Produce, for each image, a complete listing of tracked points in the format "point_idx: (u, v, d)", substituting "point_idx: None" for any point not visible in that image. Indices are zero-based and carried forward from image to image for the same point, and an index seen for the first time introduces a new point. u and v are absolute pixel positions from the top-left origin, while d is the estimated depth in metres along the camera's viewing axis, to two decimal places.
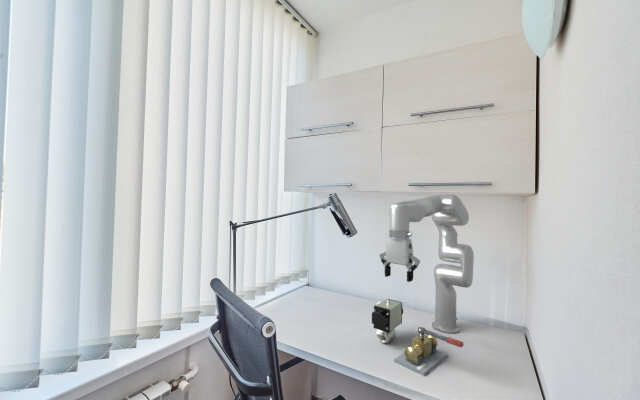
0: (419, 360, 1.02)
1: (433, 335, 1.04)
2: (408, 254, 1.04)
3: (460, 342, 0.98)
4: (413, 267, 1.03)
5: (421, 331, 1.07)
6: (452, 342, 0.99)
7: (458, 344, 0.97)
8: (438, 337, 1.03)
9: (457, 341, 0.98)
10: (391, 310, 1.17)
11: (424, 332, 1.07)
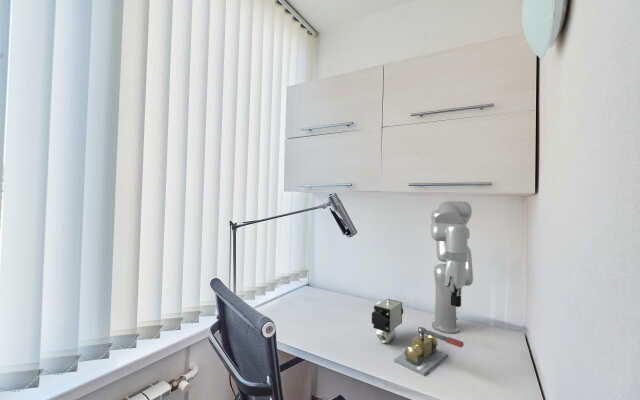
0: (419, 360, 1.02)
1: (433, 335, 1.04)
2: None
3: (460, 342, 0.98)
4: None
5: (421, 331, 1.07)
6: (452, 342, 0.99)
7: (458, 344, 0.97)
8: (438, 337, 1.03)
9: (457, 341, 0.98)
10: (391, 310, 1.17)
11: (424, 332, 1.07)
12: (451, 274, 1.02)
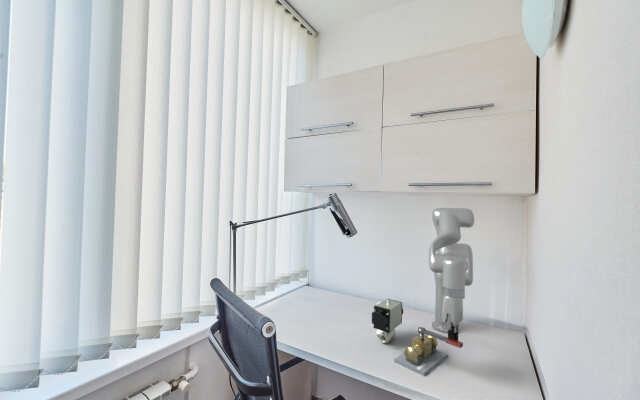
0: (419, 360, 1.02)
1: (433, 335, 1.04)
2: None
3: (459, 342, 0.97)
4: None
5: (421, 331, 1.07)
6: (451, 343, 0.99)
7: (457, 344, 0.97)
8: (438, 337, 1.02)
9: (456, 341, 0.98)
10: (391, 310, 1.17)
11: (424, 332, 1.07)
12: (448, 311, 0.99)
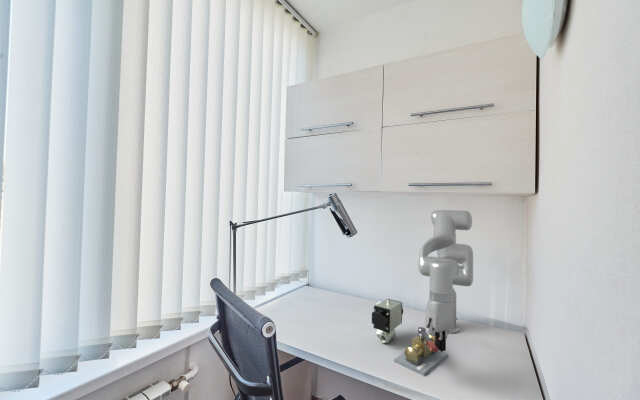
0: (419, 360, 1.02)
1: (423, 336, 1.03)
2: None
3: (433, 346, 0.94)
4: None
5: (418, 330, 1.08)
6: (428, 345, 0.96)
7: (430, 347, 0.94)
8: (424, 338, 1.01)
9: (432, 345, 0.95)
10: (391, 310, 1.17)
11: (420, 332, 1.07)
12: (430, 315, 0.95)
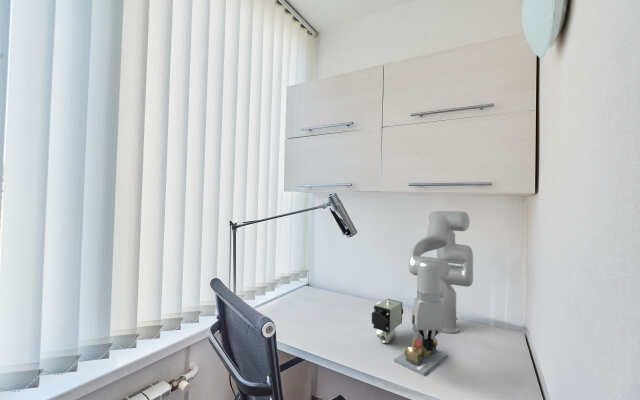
0: (419, 360, 1.02)
1: None
2: None
3: (417, 344, 0.95)
4: (435, 334, 0.96)
5: None
6: None
7: (414, 344, 0.96)
8: (417, 337, 1.03)
9: (417, 343, 0.96)
10: (391, 310, 1.17)
11: None
12: (414, 312, 0.97)
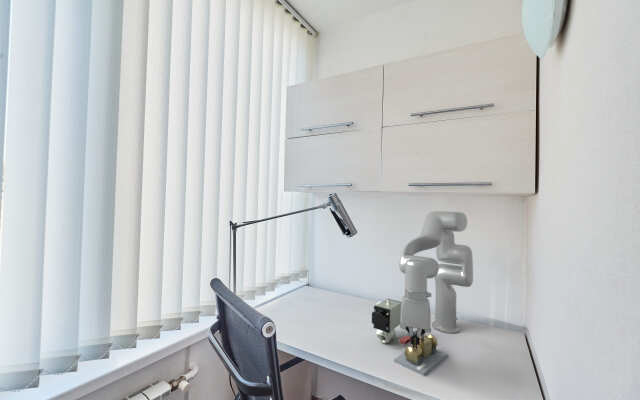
0: (419, 360, 1.02)
1: None
2: (430, 317, 0.96)
3: (402, 339, 0.99)
4: (422, 332, 0.97)
5: None
6: None
7: None
8: None
9: (404, 339, 0.99)
10: (391, 310, 1.17)
11: None
12: None
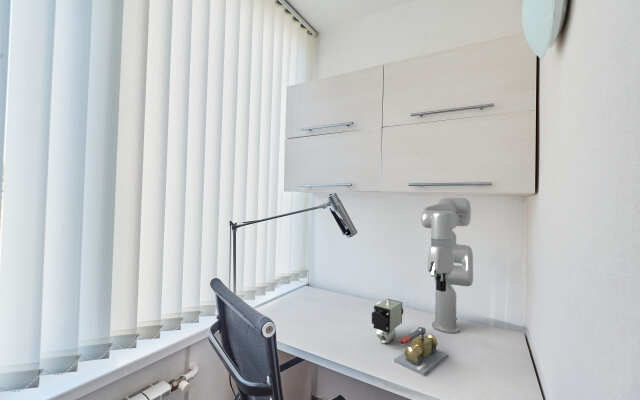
0: (419, 360, 1.02)
1: None
2: None
3: (402, 339, 0.99)
4: (446, 275, 1.08)
5: (418, 329, 1.09)
6: None
7: None
8: None
9: (403, 338, 0.99)
10: (391, 310, 1.17)
11: None
12: (432, 259, 1.05)
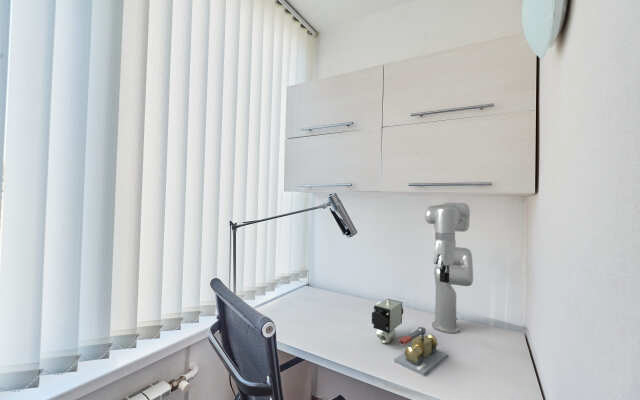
0: (419, 360, 1.02)
1: None
2: None
3: (402, 339, 0.99)
4: None
5: (418, 329, 1.09)
6: None
7: None
8: None
9: (403, 338, 0.99)
10: (391, 310, 1.17)
11: None
12: (439, 252, 1.11)
